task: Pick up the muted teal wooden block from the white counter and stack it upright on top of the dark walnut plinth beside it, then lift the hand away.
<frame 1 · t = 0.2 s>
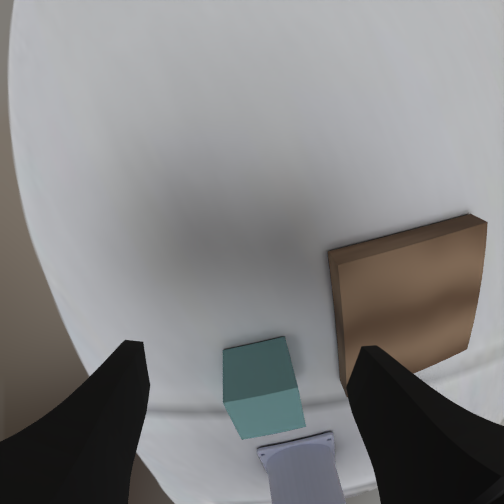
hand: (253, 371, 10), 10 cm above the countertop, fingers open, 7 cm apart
walnut plinth: (408, 303, 21), on the countertop
teal block: (260, 365, 22), on the countertop
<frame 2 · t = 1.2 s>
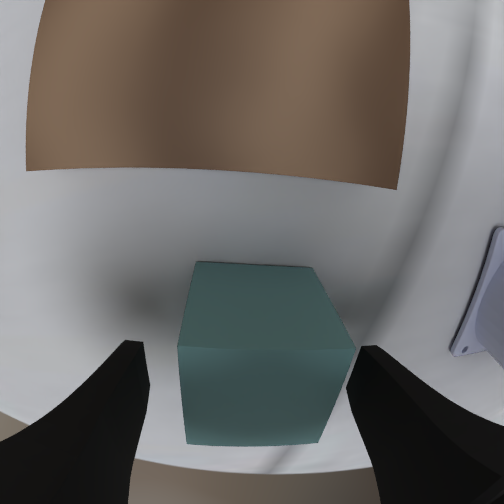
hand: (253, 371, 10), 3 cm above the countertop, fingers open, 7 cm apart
walnut plinth: (222, 3, 8), on the countertop
teal block: (250, 314, 13), on the countertop
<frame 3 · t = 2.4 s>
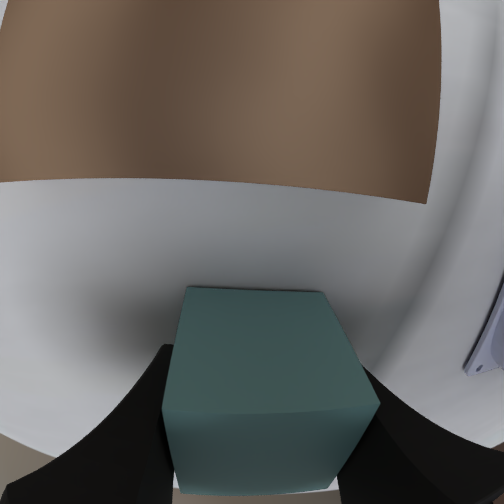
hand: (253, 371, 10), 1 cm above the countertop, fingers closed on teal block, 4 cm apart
teal block: (250, 344, 11), on the countertop, touching gripper
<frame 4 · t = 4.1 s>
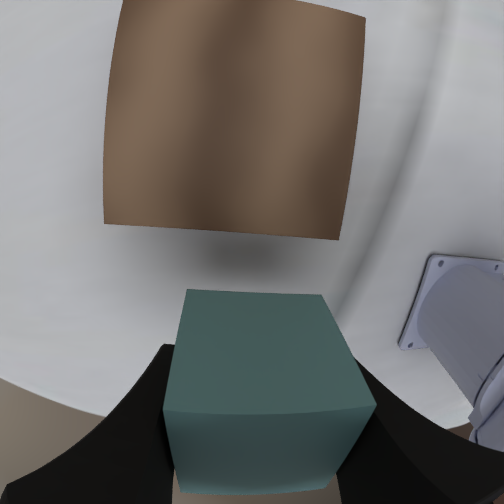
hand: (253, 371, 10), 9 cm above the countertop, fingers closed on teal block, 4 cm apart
walnut plinth: (231, 108, 15), on the countertop
teal block: (250, 345, 11), point 7 cm above the countertop, touching gripper
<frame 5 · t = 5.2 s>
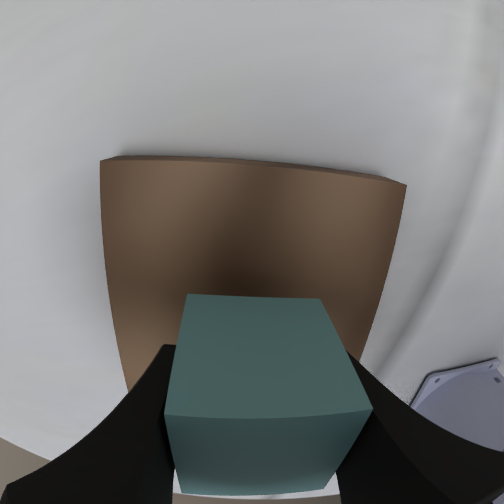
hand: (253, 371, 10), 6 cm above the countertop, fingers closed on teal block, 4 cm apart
walnut plinth: (245, 289, 15), on the countertop
teal block: (249, 348, 11), point 4 cm above the countertop, touching gripper
when the fingers open (5 cm above the countertop, at t = 6.2 s): teal block drops 1 cm, resting on walnut plinth.
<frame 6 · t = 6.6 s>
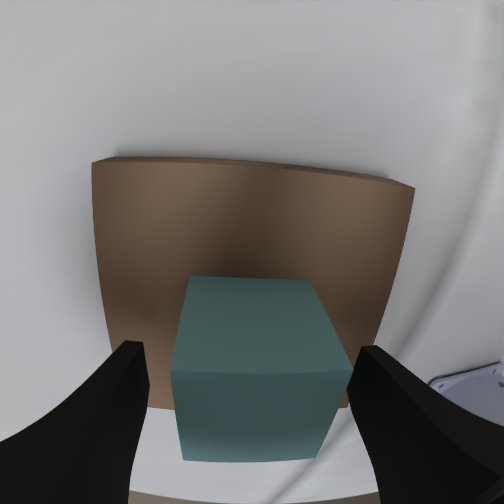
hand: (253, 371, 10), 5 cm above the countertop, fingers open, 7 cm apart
walnut plinth: (245, 296, 14), on the countertop
teal block: (246, 327, 12), point 2 cm above the countertop, touching walnut plinth
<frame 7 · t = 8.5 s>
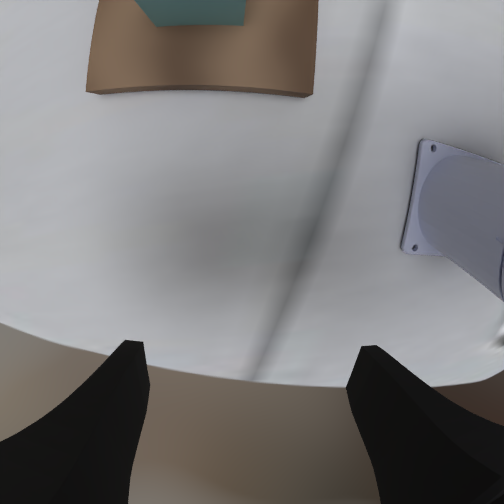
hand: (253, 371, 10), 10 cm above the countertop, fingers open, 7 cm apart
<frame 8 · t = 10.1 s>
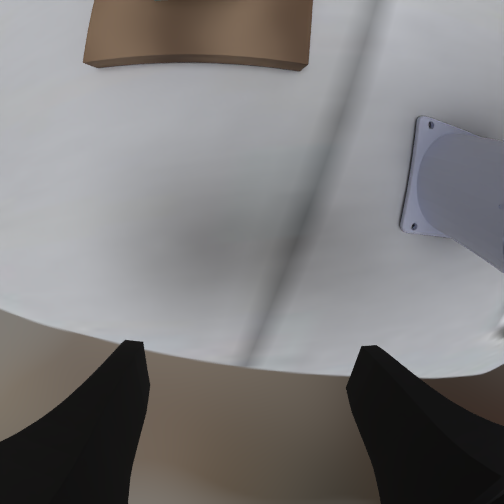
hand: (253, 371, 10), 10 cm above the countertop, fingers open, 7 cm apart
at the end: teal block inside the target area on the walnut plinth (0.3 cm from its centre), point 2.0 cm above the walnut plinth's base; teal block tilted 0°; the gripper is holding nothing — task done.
